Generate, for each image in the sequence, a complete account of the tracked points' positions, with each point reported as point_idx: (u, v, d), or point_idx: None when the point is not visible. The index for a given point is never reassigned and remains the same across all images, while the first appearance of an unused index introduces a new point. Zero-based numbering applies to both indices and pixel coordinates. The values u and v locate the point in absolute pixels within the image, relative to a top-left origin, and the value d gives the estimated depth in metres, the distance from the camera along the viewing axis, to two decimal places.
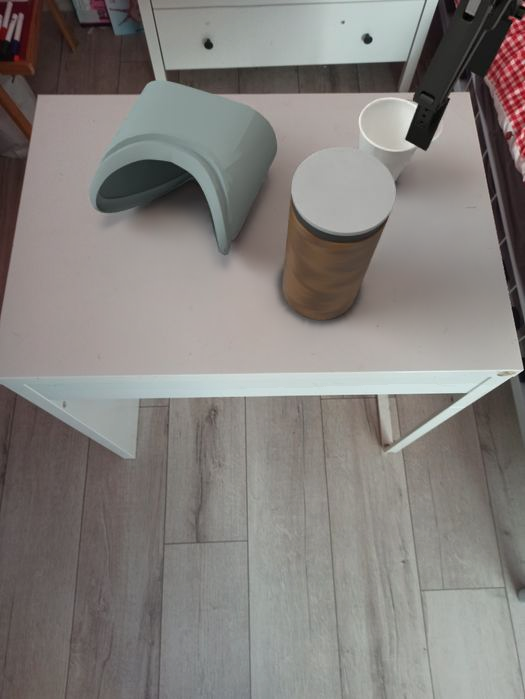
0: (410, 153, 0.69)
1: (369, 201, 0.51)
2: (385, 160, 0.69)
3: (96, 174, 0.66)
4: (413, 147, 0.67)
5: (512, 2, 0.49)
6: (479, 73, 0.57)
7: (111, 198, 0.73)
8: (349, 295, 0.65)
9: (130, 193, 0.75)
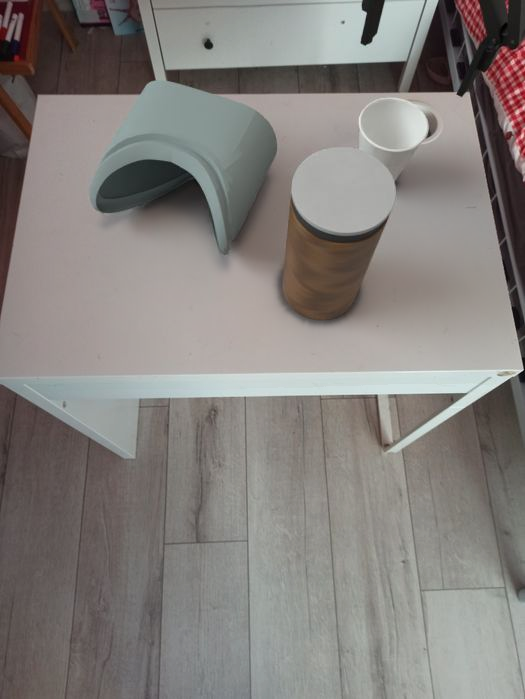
0: (410, 153, 0.69)
1: (369, 201, 0.51)
2: (385, 160, 0.69)
3: (96, 174, 0.66)
4: (413, 147, 0.67)
5: None
6: (374, 34, 0.60)
7: (111, 198, 0.73)
8: (349, 295, 0.65)
9: (130, 193, 0.75)
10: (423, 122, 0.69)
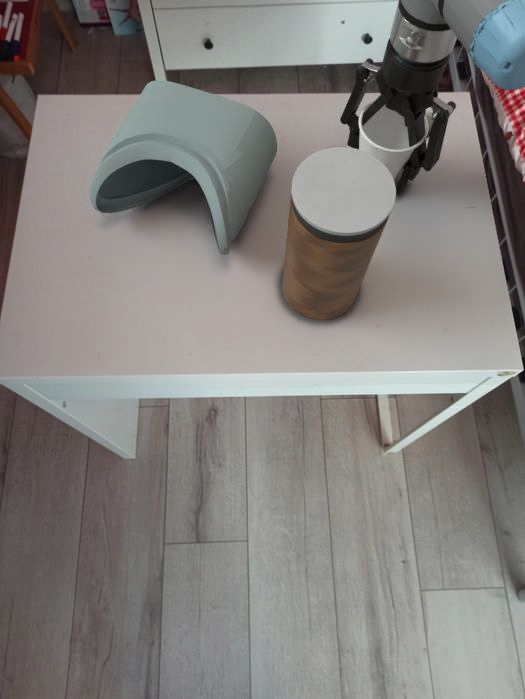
0: (410, 153, 0.69)
1: (369, 201, 0.51)
2: (385, 160, 0.69)
3: (96, 174, 0.66)
4: (413, 147, 0.67)
5: None
6: None
7: (111, 198, 0.73)
8: (349, 295, 0.65)
9: (130, 193, 0.75)
10: None
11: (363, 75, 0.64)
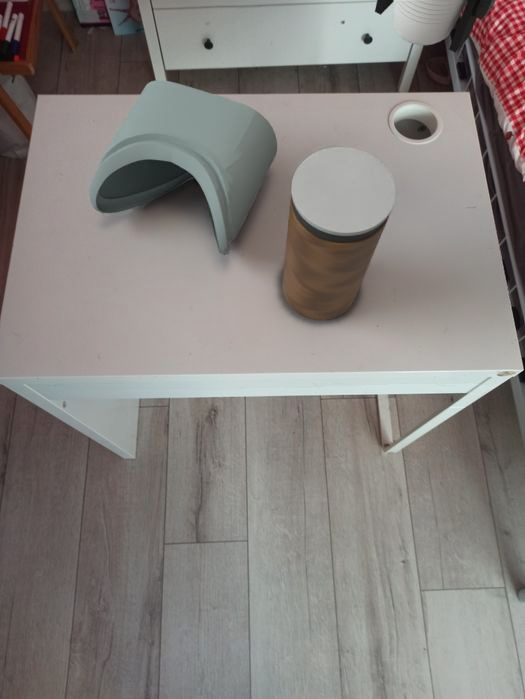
0: None
1: (369, 201, 0.51)
2: None
3: (96, 174, 0.66)
4: None
5: None
6: (391, 1, 0.51)
7: (111, 198, 0.73)
8: (349, 295, 0.65)
9: (130, 193, 0.75)
10: None
11: None
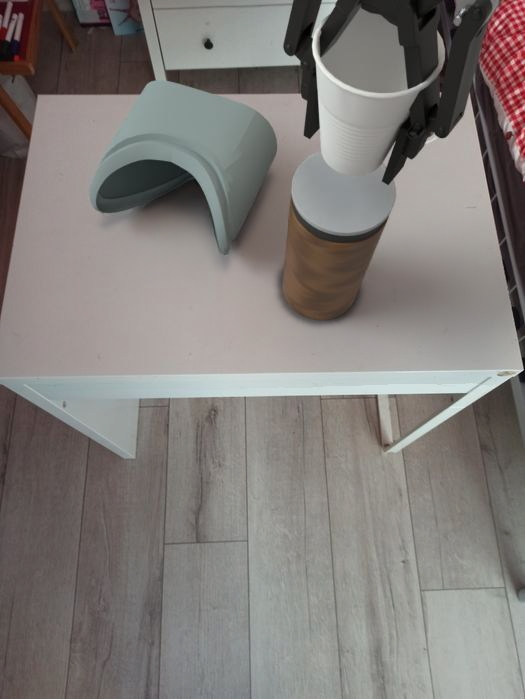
0: (410, 103, 0.36)
1: (369, 201, 0.51)
2: (362, 116, 0.37)
3: (96, 174, 0.66)
4: (415, 89, 0.35)
5: (343, 30, 0.38)
6: None
7: (111, 198, 0.73)
8: (349, 295, 0.65)
9: (130, 193, 0.75)
10: None
11: None
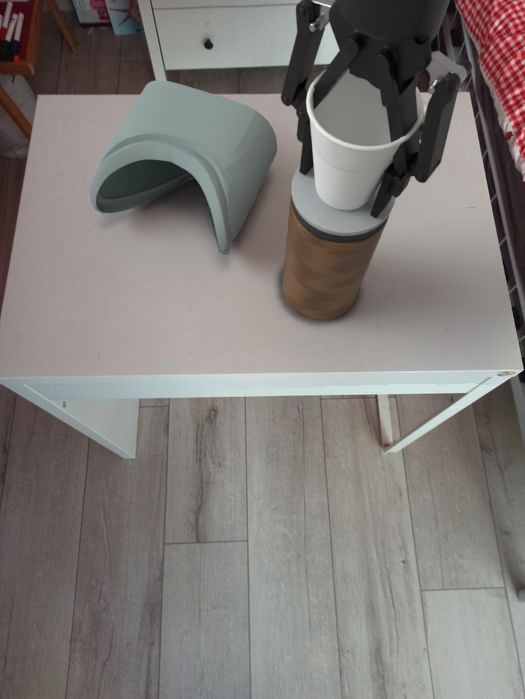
0: (393, 153, 0.41)
1: (369, 201, 0.51)
2: (351, 164, 0.42)
3: (96, 174, 0.66)
4: (397, 142, 0.39)
5: (334, 86, 0.42)
6: None
7: (111, 198, 0.73)
8: (349, 295, 0.65)
9: (130, 193, 0.75)
10: None
11: (308, 15, 0.36)
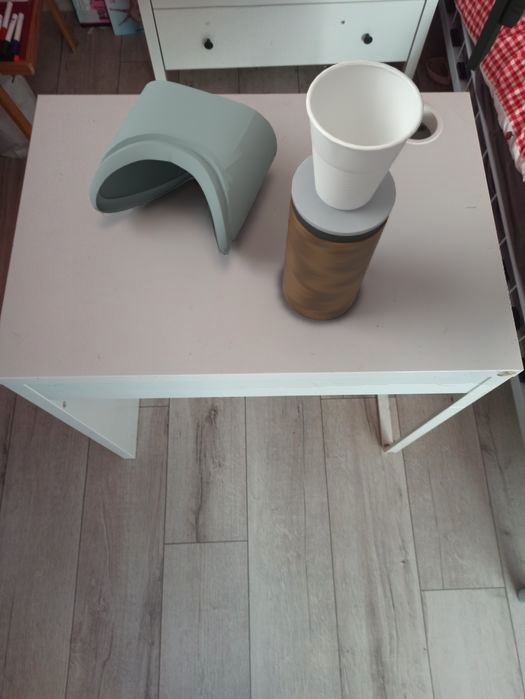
0: (393, 152, 0.41)
1: (369, 201, 0.51)
2: (351, 164, 0.42)
3: (96, 174, 0.66)
4: (397, 142, 0.39)
5: None
6: None
7: (111, 198, 0.73)
8: (349, 295, 0.65)
9: (130, 193, 0.75)
10: (415, 101, 0.42)
11: None
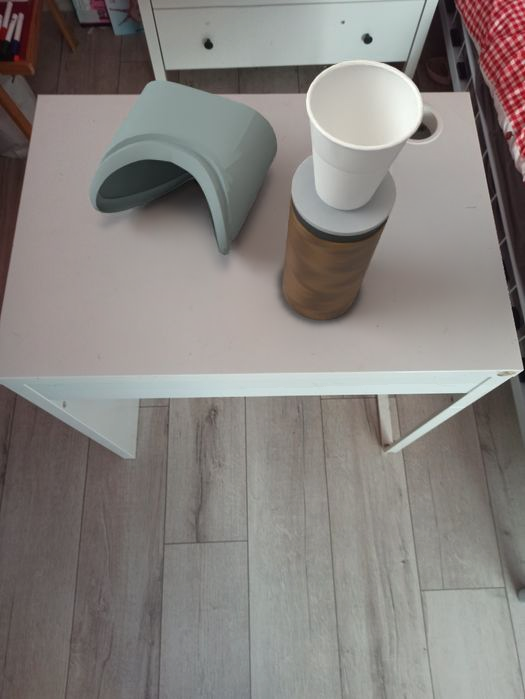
0: (393, 152, 0.41)
1: (369, 201, 0.51)
2: (351, 164, 0.42)
3: (96, 174, 0.66)
4: (397, 142, 0.39)
5: None
6: None
7: (111, 198, 0.73)
8: (349, 295, 0.65)
9: (130, 193, 0.75)
10: (415, 101, 0.42)
11: None
